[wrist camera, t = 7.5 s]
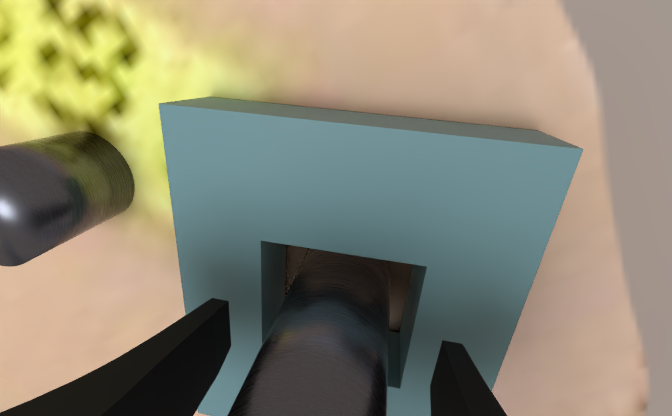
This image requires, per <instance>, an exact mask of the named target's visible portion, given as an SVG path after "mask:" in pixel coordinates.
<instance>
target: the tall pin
mask: <svg viewBox="0 0 672 416" xmlns="http://www.w3.org/2000/svg"><path fill="white" fill-rule="evenodd" d="M390 282H391V276H390V270H389V266H388V264H387V262H386V260H381V259H375V258H369V257H362V256H356V255H349V254H343V253H337V252H330V251H324V250H318V249H310V251H309V252H308V253H307V255H306V257H305V259H304V261H303V263H302V265H301V267H300V269H299V271H298V273H297V275H296V277H295V279H294V281H293V283H292V285H291V287H290V289H289V291H288V294H287V296H286V298H285V300H284V302H283V304H282V306H281V308H280V310H279V312H278V314H277V316H276V318H275V320H274V322H273V324H272V326H271V328H270V330H269V332H268V334H267V336H266V338H265V340H264V342H263V344H262V346H261V348H260V350H259V352H258V354H257V356H256V358H255V361H254V363H253V365H252V367H251V369H250V371H249V373H248V375H247V377H246V379H245V381H244V383H243V385H242V387H241V389H240V391H239V393H238V395H237V397H236V399H235V401H234V403H233V405H232V407H231V409H230V411H229V413H228V415H227V416H387V385H388V351H389V316H390Z"/></svg>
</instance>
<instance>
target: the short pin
mask: <svg viewBox="0 0 672 416" xmlns="http://www.w3.org/2000/svg"><path fill="white" fill-rule="evenodd" d="M133 196H134V180H133V176H132V173H131V170H130V168H129V166H128V164H127V162H126V161H125V159H124V158H123V156H122V155H121V154H120V152H119V151H118V150H117V149H116V148H115V147H114V146H113V145H111V144H110V143H109V142H107V141H106V140H105V139H103V138H101V137H99V136H97V135H95V134H92V133H88V132H72V133H67V134H62V135H57V136H51V137H46V138H41V139H36V140H31V141H26V142H21V143H15V144H10V145H5V146H0V265H1V266H18V265H21V264H24V263H26V262H28V261H29V260H31V259H33V258H35V257H37V256H39V255H41V254H43V253H45V252H47V251H49V250H51V249H53V248H54V247H56V246H58V245H60V244H62V243H64V242H66V241H68V240H70V239H72V238H74V237H76V236H78V235H79V234H81V233H83V232H85V231H87V230H89V229H91V228H93V227H95V226H97V225H99V224H101V223H102V222H104V221H106V220H108V219H110V218H112V217H114V216H116V215H118V214H120V213H122V212H123V211H125V210H126V209H127V208H128V207H129V205H130V204H131V202H132V200H133Z"/></svg>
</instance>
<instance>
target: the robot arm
mask: <svg viewBox="0 0 672 416" xmlns="http://www.w3.org/2000/svg"><path fill="white" fill-rule="evenodd" d="M230 348H231V332H230V315H229V301H226V300H221V299H215V298H211V299H210V300H208V301H206V302H205V303H203V304H202V305H200V306H199V307H197V308H196V309H194V310H193V311H191V312H190V313H188V314H187V315H186V316H184V317H183V318H181V319H180V320H178V321H176V322H175V323H173V324H172V325H170V326H169V327H167V328H166V329H164V330H163V331H161V332H160V333H158V334H157V335H155V336H153V337H152V338H150V339H148V340H147V341H145V342H143V343H142V344H140V345H138V346H137V347H135V348H133V349H132V350H130V351H128V352H127V353H125V354H123V355H122V356H120V357H118V358H116V359H115V360H113V361H111V362H109V363H107V364H105V365H104V366H102V367H100V368H98V369H96V370H94V371H92V372H90V373H88V374H86V375H84V376H82V377H80V378H78V379H76V380H74V381H72V382H70V383H68V384H65V385H63V386H61V387H59V388H57V389H54V390H52V391H50V392H48V393H46V394H43V395H41V396H39V397H37V398H35V399H32V400H30V401H28V402H25V403H23V404H20V405H18V406H16V407H13V408H11V409H8V410H6V411H3V412H1V413H0V416H193V415H194V413H195V412H196V410H197V408H198V407H199V405H200V404H201V402H202V400H203V399H204V397H205V395H206V394H207V392H208V390H209V389H210V387H211V386H212V384H213V382H214V381H215V379H216V377H217V376H218V374H219V372H220V369H221V367H222V365H223V363H224V361H225V359H226V357H227V354H228V352H229V350H230ZM430 402H431V416H507V415H506V413H505V412H504V410H503V409H502V407H501V406H500V404H499V403H498V401H497V400H496V398H495V396H494V395H493V393H492V392H491V390H490V389H489V387H488V385H487V384H486V382H485V381H484V379H483V377H482V376H481V374H480V372H479V371H478V369H477V367H476V366H475V364H474V362H473V360H472V359H471V357H470V355H469V354H468V352H467V350H466V348H465V347H464V345H463V344H461V343H455V342H450V341H444V340H442V343H441V347H440V351H439V354H438V358H437V362H436V365H435V369H434V373H433V376H432V380H431V384H430Z"/></svg>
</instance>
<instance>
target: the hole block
mask: <svg viewBox="0 0 672 416" xmlns="http://www.w3.org/2000/svg"><path fill="white" fill-rule="evenodd" d="M159 110H160V118H161V125H162V133H163V141H164V149H165V157H166V164H167V172H168V180H169V188H170V196H171V204H172V211H173V219H174V227H175V235H176V243H177V250H178V258H179V266H180V274H181V282H182V290H183V297H184V305H185V313H186V315H187V314H188V313H190V312H191V311H193V310H194V309H196V308H197V307H199V306H200V305H202V304H203V303H205V302H206V301H208V300H210V299H211V298H215V299H221V300H226V301H229V315H230V332H231V348H230V350H229V352H228V354H227V357H226V359H225V361H224V363H223V365H222V367H221V369H220V372H219V374H218V376H217V377H216V379H215V381H214V382H213V384H212V386H211V387H210V389H209V390H208V392H207V394H206V395H205V397H204V399H203V400H202V402H201V404H200V405H199V407H198V413H202V414H206V415H210V416H227V415H228V413H229V411H230V409H231V407H232V405H233V403H234V401H235V399H236V397H237V395H238V393H239V391H240V389H241V387H242V385H243V383H244V381H245V379H246V377H247V375H248V373H249V371H250V369H251V367H252V365H253V363H254V361H255V358H256V356H257V354H258V352H259V350H260V348H261V346H262V344H263V342H264V340H265V338H266V336H267V334H268V332H269V330H270V328H271V326H272V324H273V322H274V320H275V318H276V316H277V314H278V312H279V310H280V308H281V306H282V304H283V302H284V300H285V285H286V245H292V246H299V247H305V248H311V249H318V250H324V251H330V252H337V253H343V254H349V255H356V256H362V257H369V258H375V259H381V260H388V261H394V262H400V263H407V264H413V268H412V273H411V278H410V283H409V288H408V293H407V298H406V303H405V308H404V313H403V318H402V322H401V327H400V332H399V333H397V332H392V331H389V351H388V385H387V416H431V402H430V384H431V380H432V376H433V373H434V369H435V365H436V362H437V358H438V354H439V351H440V347H441V343H442V340H444V341H450V342H455V343H461V344H463V345H464V347H465V348H466V350H467V352H468V354H469V355H470V357H471V359H472V360H473V362H474V364H475V366H476V367H477V369H478V371H479V372H480V374H481V376H482V377H483V379H484V381H485V382H486V384H487V385H488V387H489V389H490V390H491V391H492V388H493V386H494V383H495V380H496V378H497V375H498V372H499V370H500V367H501V365H502V362H503V359H504V357H505V354H506V351H507V349H508V346H509V344H510V341H511V338H512V336H513V333H514V330H515V328H516V325H517V322H518V320H519V317H520V315H521V312H522V309H523V307H524V304H525V301H526V299H527V296H528V293H529V291H530V288H531V286H532V283H533V280H534V278H535V275H536V272H537V270H538V267H539V265H540V262H541V259H542V257H543V254H544V251H545V249H546V246H547V243H548V241H549V238H550V236H551V233H552V230H553V228H554V225H555V222H556V220H557V217H558V215H559V212H560V209H561V207H562V204H563V201H564V199H565V196H566V193H567V191H568V188H569V186H570V183H571V180H572V178H573V175H574V172H575V170H576V167H577V164H578V162H579V159H580V157H581V154H582V151H583V149H581V148H579V147H577V146H574V145H572V144H569V143H567V142H565V141H562V140H560V139H557V138H555V137H552V136H550V135H548V134H545V133H543V132H540V131H538V130H528V129H519V128H509V127H499V126H489V125H480V124H470V123H460V122H450V121H441V120H431V119H421V118H411V117H402V116H392V115H382V114H372V113H363V112H353V111H343V110H333V109H324V108H314V107H304V106H294V105H285V104H275V103H265V102H255V101H246V100H236V99H226V98H216V97H205V98H197V99H190V100H182V101H175V102H167V103H160V104H159Z"/></svg>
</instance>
